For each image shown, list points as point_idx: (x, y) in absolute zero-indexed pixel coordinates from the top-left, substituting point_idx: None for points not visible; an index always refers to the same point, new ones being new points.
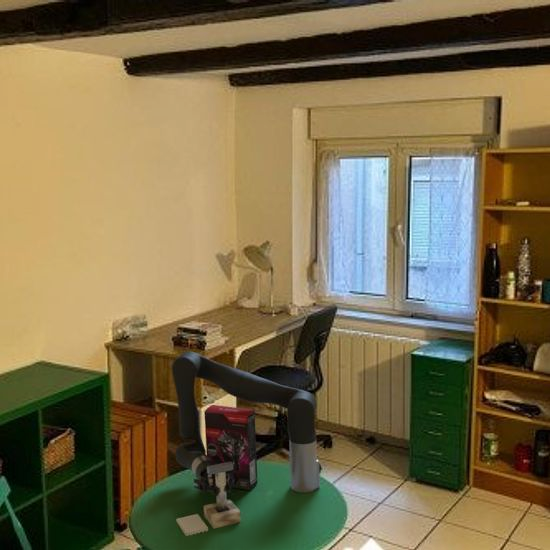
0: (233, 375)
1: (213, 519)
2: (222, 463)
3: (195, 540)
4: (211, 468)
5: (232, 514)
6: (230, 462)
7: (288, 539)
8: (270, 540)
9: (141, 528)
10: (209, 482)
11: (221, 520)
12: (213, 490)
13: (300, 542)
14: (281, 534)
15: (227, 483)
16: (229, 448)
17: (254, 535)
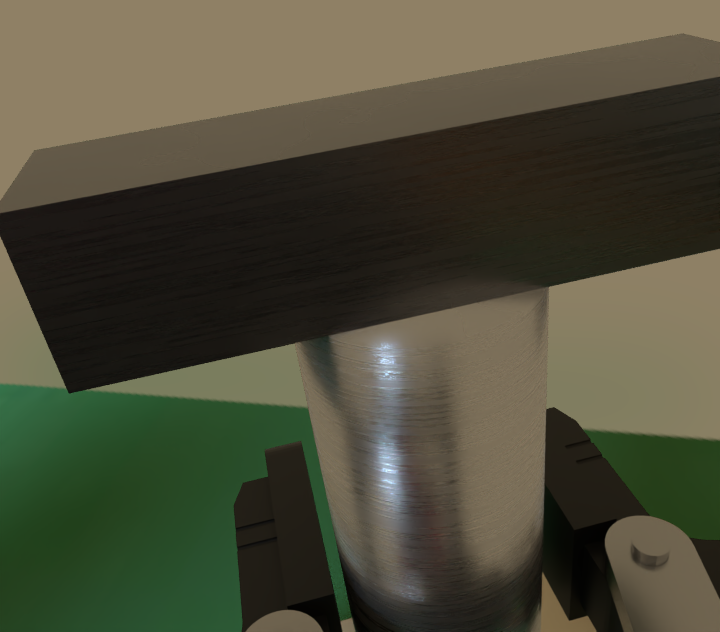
0: None
1: None
2: (309, 146)
3: (690, 488)
4: (624, 50)
5: (342, 627)
6: (50, 180)
7: (55, 434)
8: (158, 435)
9: None
10: (717, 623)
11: None
12: (568, 421)
13: (17, 406)
14: (56, 483)
15: (303, 531)
16: None
17: (230, 494)
